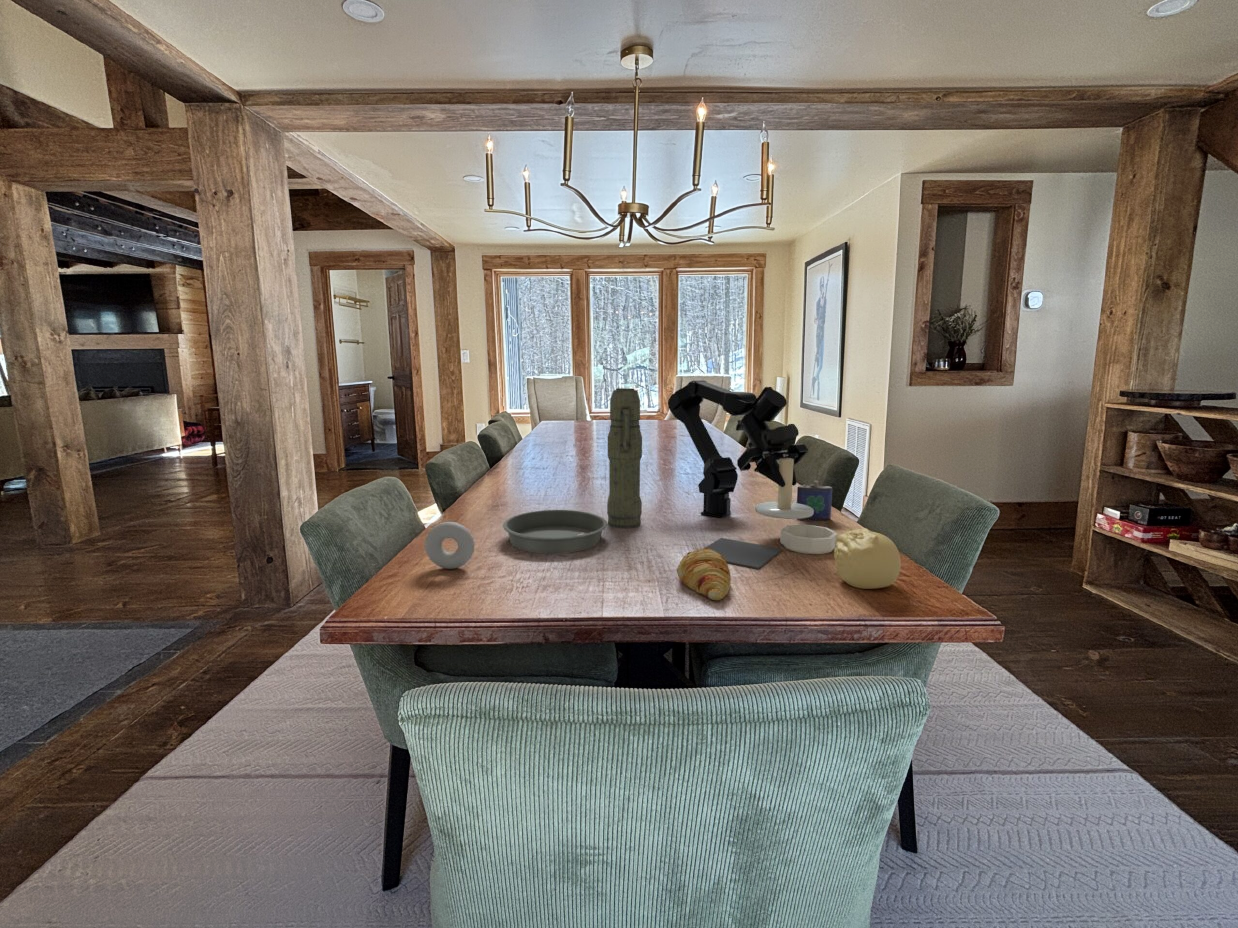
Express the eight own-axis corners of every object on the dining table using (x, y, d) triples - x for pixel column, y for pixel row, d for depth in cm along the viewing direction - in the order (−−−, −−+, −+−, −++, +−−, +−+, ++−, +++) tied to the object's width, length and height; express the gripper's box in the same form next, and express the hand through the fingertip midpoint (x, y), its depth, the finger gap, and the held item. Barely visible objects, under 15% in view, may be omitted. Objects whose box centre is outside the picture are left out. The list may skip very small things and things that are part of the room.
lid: (759, 518, 142) (762, 463, 140) (751, 503, 156) (753, 453, 153) (819, 519, 141) (823, 464, 139) (806, 505, 155) (809, 454, 152)
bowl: (775, 548, 141) (775, 533, 140) (791, 536, 151) (792, 522, 150) (826, 558, 135) (827, 542, 134) (840, 544, 144) (841, 529, 144)
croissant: (734, 622, 111) (756, 584, 110) (686, 600, 109) (708, 561, 108) (701, 578, 131) (719, 545, 130) (661, 558, 129) (679, 525, 128)
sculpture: (824, 572, 126) (828, 521, 124) (884, 573, 126) (888, 522, 124) (842, 594, 115) (847, 538, 113) (908, 595, 114) (913, 539, 112)
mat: (693, 556, 136) (693, 554, 136) (721, 539, 148) (721, 537, 148) (758, 569, 128) (758, 567, 128) (782, 550, 140) (782, 548, 140)
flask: (829, 518, 168) (831, 479, 166) (832, 521, 165) (834, 481, 163) (794, 517, 168) (796, 479, 166) (797, 520, 165) (799, 481, 163)
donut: (424, 571, 126) (421, 524, 124) (428, 565, 129) (426, 519, 127) (473, 571, 126) (471, 523, 124) (476, 565, 129) (475, 519, 127)
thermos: (636, 516, 168) (637, 387, 162) (645, 528, 157) (647, 390, 151) (604, 517, 167) (604, 387, 161) (610, 530, 155) (611, 390, 149)
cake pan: (542, 564, 131) (541, 544, 130) (484, 538, 149) (483, 520, 148) (628, 542, 147) (628, 523, 146) (566, 520, 165) (566, 504, 164)
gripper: (747, 414, 143) (778, 469, 136) (805, 411, 152) (837, 462, 145) (724, 443, 151) (752, 496, 144) (780, 438, 161) (810, 488, 153)
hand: (789, 485), depth 146 cm, fingers closed on lid, 3 cm apart
